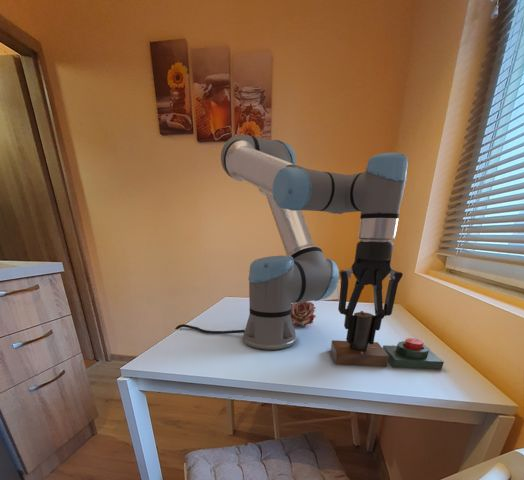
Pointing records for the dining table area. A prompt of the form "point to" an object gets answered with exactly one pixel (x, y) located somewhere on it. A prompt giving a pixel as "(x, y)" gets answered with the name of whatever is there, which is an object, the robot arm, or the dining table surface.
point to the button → (413, 344)
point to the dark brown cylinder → (361, 331)
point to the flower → (302, 313)
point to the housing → (412, 357)
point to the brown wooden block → (358, 355)
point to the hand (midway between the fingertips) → (359, 341)
